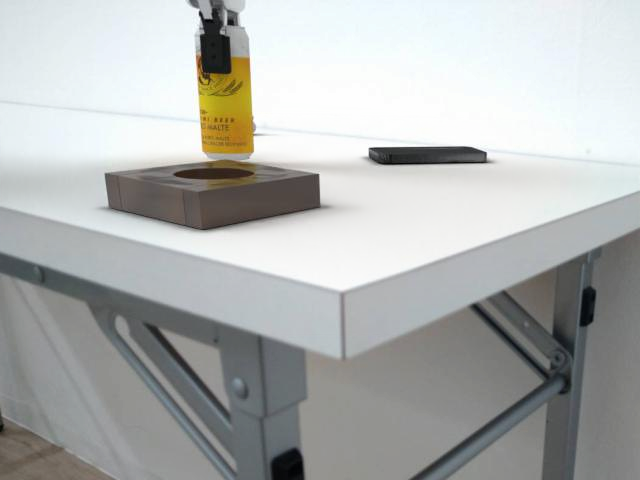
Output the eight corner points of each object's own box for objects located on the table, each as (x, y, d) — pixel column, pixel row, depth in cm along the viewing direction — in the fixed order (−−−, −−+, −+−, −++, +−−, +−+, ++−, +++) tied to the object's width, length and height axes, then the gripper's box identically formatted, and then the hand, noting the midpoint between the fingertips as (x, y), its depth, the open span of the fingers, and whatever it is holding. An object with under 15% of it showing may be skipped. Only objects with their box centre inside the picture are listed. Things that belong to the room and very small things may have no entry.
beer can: (191, 157, 89) (181, 23, 84) (226, 153, 94) (219, 26, 89) (231, 162, 87) (223, 24, 82) (264, 158, 92) (259, 28, 87)
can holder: (108, 207, 65) (103, 172, 64) (228, 189, 75) (226, 159, 74) (202, 229, 58) (198, 191, 57) (320, 206, 68) (319, 173, 67)
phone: (366, 147, 101) (469, 146, 106) (366, 155, 101) (469, 154, 106) (380, 154, 94) (489, 152, 99) (380, 163, 94) (489, 161, 99)
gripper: (199, -89, 89) (209, 70, 95) (154, -122, 73) (169, 72, 79) (262, -85, 89) (268, 73, 96) (231, -117, 73) (241, 76, 79)
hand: (223, 71), depth 87 cm, fingers closed on beer can, 6 cm apart
